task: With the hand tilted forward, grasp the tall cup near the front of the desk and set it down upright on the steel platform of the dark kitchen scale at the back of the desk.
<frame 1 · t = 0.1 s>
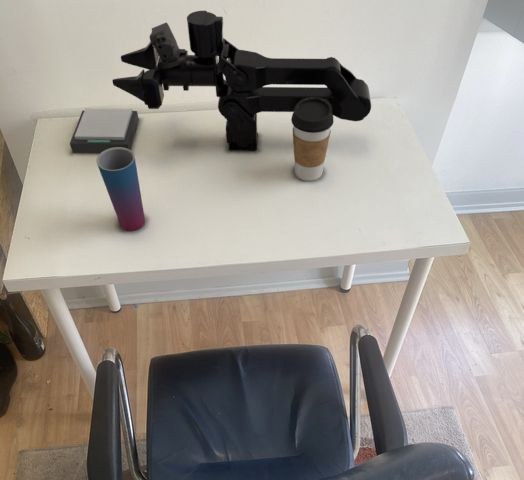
hand: (117, 70, 111), 17 cm above the table, tool horizontal, fingers open, 9 cm apart
cup: (132, 223, 109), on the table
coffee cup: (308, 173, 118), on the table
scale: (106, 136, 126), on the table
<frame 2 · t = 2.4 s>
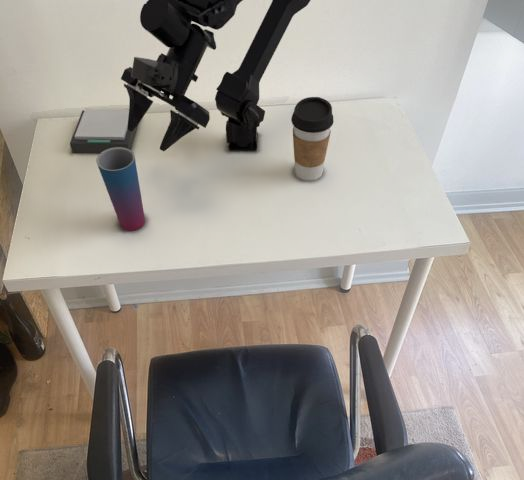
hand: (145, 140, 101), 14 cm above the table, tool tilted 45°, fingers open, 9 cm apart
nothing on the table moved.
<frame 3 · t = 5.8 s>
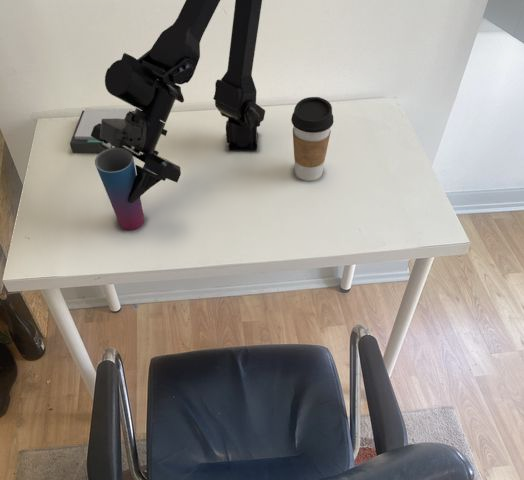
hand: (118, 195, 102), 8 cm above the table, tool tilted 45°, fingers closed on cup, 6 cm apart
cup: (132, 222, 109), on the table, touching gripper
everything else where it was.
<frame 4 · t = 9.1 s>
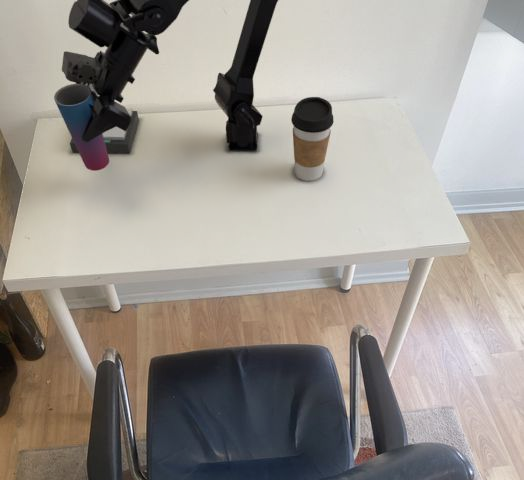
hand: (79, 132, 104), 13 cm above the table, tool tilted 45°, fingers closed on cup, 6 cm apart
cup: (97, 163, 111), point 6 cm above the table, touching gripper
everything else where it was.
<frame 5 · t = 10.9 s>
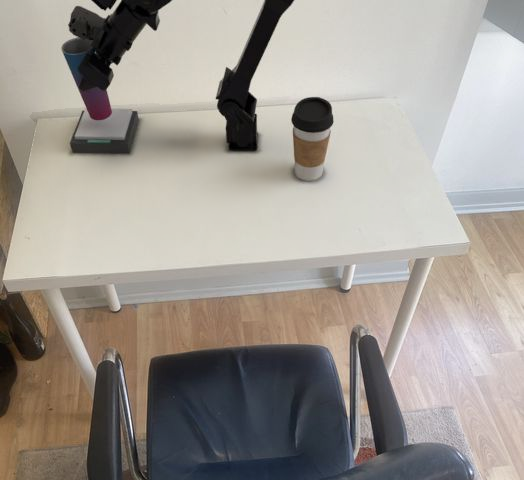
hand: (84, 81, 115), 13 cm above the table, tool tilted 45°, fingers closed on cup, 6 cm apart
cup: (101, 114, 121), point 6 cm above the table, touching gripper
everything else where it was.
when the fingers open (11 cm above the table, at t = 12.6 s): cup stays where it is, resting on scale.
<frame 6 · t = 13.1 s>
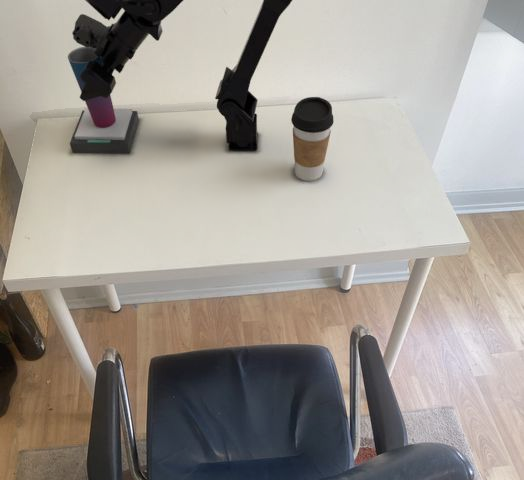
hand: (88, 87, 117), 11 cm above the table, tool tilted 45°, fingers open, 9 cm apart
cup: (105, 122, 124), point 3 cm above the table, touching gripper, scale
everything else where it was.
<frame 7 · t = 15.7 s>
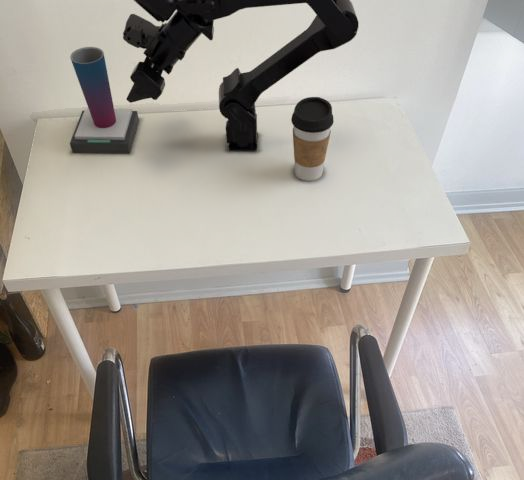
hand: (133, 88, 114), 13 cm above the table, tool tilted 45°, fingers open, 9 cm apart
cup: (105, 122, 124), point 3 cm above the table, touching scale
everything else where it was.
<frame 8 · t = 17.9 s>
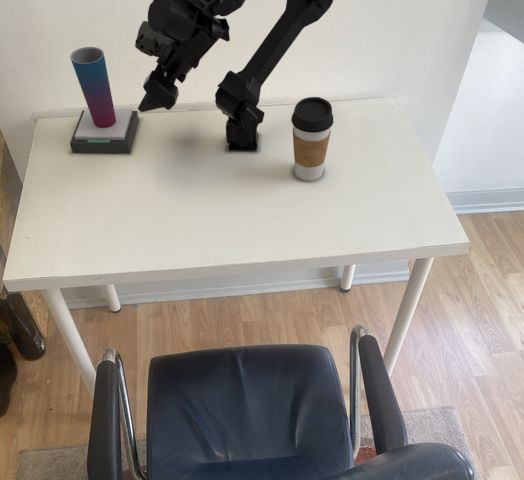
hand: (144, 97, 110), 14 cm above the table, tool tilted 45°, fingers open, 9 cm apart
nothing on the table moved.
at the end: cup inside the target area on the scale (0.4 cm from its centre), point 3.0 cm above the scale's base; cup tilted 0°; the gripper is holding nothing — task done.
